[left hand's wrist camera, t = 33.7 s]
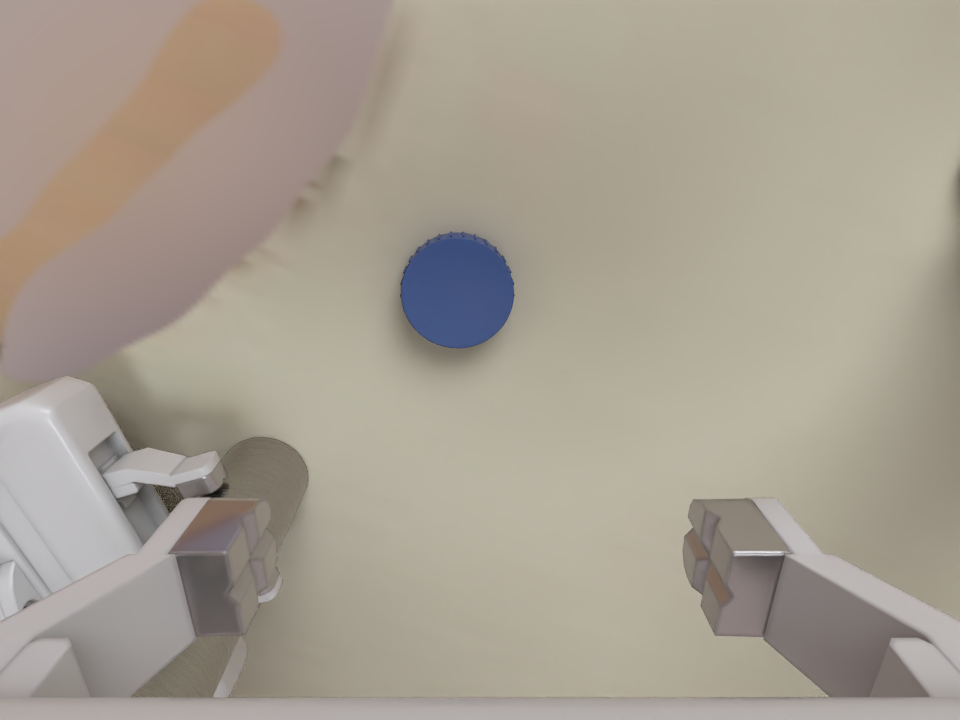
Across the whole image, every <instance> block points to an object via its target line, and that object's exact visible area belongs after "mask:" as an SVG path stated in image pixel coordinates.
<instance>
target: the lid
mask: <svg viewBox="0 0 960 720" xmlns="http://www.w3.org/2000/svg"><path fill="white" fill-rule="evenodd" d="M505 262H506V261H505V259H504V257H503V255H502V256H501V255H500V253H499V252H498V250H497V248H496V247H493V246H492V245H491V244H489V243H488V242H487V240H486V239H485V240H483V239H481V238H479V237H477V236H476V235H475V234H474V235H471V234H466V233H464V232H462V233H452V232H450V233H448V234H444V235H440V234H439V235H438V237H435V238H433V239H431V240H429V239H428V240H427V242H426V243H425V244H424V245H422V246H421V247H418V249H417V251H416V253H415V254H414V255H413V256H411V257H410V259H409V264H408V267H407V266H406V267H405V270H404V272H403V273H404V277H403V279H402V281H401V285H402V286H401V295H400V296H401V299H402V305H403V309H404V312H405V314H406V317H407V318H408V320H409V322H410V323H411V325H412V326H413V327H414V329H415V330H416V331H417V332H418V333H419V334H420V335H422V336H423V337H424V338H426V339H427V340H429V341H431V342H433V343H435V344H437V345H441V346H444V347H449V348H467V347H471V346H475V345H478V344H480V343H482V342H484V341H486V340H488V339H489V338H491V337H492V336H493V335H495V334H496V333H497V332H498V331H499V330H500V329H501V328H502V326H503V325H504V323H505V322H506V320H507V318H508V316H509V314H510V312H511V309H512V305H513V298H514V288H513V285H514V282H513V280H512V278H511V275H510V273H511V271H510V268H509V266H507V265H506V263H505Z"/></svg>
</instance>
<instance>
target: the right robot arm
mask: <svg viewBox="0 0 960 720" xmlns="http://www.w3.org/2000/svg"><path fill="white" fill-rule="evenodd" d="M227 477H228V473H227V471H226V469H225V467H224V465H223V463H222V461H221V459H220V457H219V456H218V454H217V452H216V451H211V452H207V453H204V454H200V455H196V456H193V457H189V458H187V457H186V456H184V455H179V454H175V453H171V452H166V451H162V450H158V449H153V448H149V447H148V448H144V449H141V450H137V451H133V450H132V448H131V446H130V445H129V443H128V441H127V439H126V438H125V436H124V434H123V433H122V431H121V429H120V427H119V426H118V424H117V422H116V421H115V419H114V417H113V416H112V414H111V412H110V410H109V409H108V407H107V405H106V404H105V402H104V400H103V398H102V396H101V395H100V393H99V391H98V390H97V388H96V387H95V386H94V385H93V384H92V383H89V382H87V381H84V380H81V379H77V378H74V377H71V376H63V377H59V378H56V379H53V380H50V381H47V382H44V383H42V384H39V385H37V386H34V387H32V388H29V389H27V390H25V391H23V392H21V393H18V394H16V395H15V396H13V397H11V398H9V399H7V400H5V401H3V402H1V403H0V621H1V620H3V619H5V618H7V617H9V616H11V615H13V614H15V613H16V612H18V611H20V610H22V609H24V608H26V607H28V606H30V605H32V604H34V603H36V602H37V601H39V600H41V599H43V598H45V597H47V596H49V595H51V594H53V593H55V592H56V591H58V590H60V589H62V588H64V587H66V586H68V585H70V584H72V583H74V582H75V581H77V580H79V579H81V578H83V577H85V576H87V575H89V574H91V573H93V572H95V571H96V570H98V569H100V568H102V567H104V566H106V565H108V564H110V563H112V562H114V561H115V560H117V559H119V558H121V557H123V556H125V555H127V554H137V552H138V551H139V550H140V549H141V548H142V546H143V545H144V544H145V543H146V542H147V541H148V539H149V538H150V537H151V536H152V535H153V533H154V532H155V531H156V530H157V529H158V527H159V526H160V525H161V524H162V523H163V521H164V520H165V519H166V518H167V517H168V516H169V514H170V513H169V511H168V510H167V508H166V506H165V505H164V503H163V501H162V499H161V498H160V496H159V494H158V493H157V491H156V489H155V487H154V486H153V485H160V486H167V487H175V488H176V487H177V489H178V490H179V492H180V493H181V495H182V497H183V498H184V499H186V498H195V497H197V496H198V495H199V494H205V495H206V494H209V493H212V492H214V491H216V490H217V489H219V488H220V487H221V486H222V484H223V480H225V479H227ZM282 582H283V578H282V576H281V574H280V572H279V571H278V569H277V567H276V566H275V571H274V575H273V578H272V580H271V582H270V584H269V586H268V588H266V589H265V590H263V591H262V592H261V593H259V595H258V601H259V603H263V602H267V601H270V600H272V599H273V598H274V597H276V596H277V594H278V592H279V590H280V587H281V585H282ZM247 653H248V648H247V645H246V643H245V641H244V639H243V638H242V636H240V638H239V640H238V642H237V644H236V647H235V649H234V651H233V653H232V656H231V658H230V660H229V662H228V664H227V667H226V669H225V671H224V673H223V676H222V678H221V680H220V682H219V685H218V687H217V689H216V691H215V693H214V696H213V697H228V696H229V695H230V693H231V691H232V690H233V688H234V686H235V684H236V681H237V679H238V677H239V675H240V672H241V670H242V667H243V665H244V662H245V660H246V657H247Z"/></svg>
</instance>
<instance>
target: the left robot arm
mask: <svg viewBox="0 0 960 720" xmlns="http://www.w3.org/2000/svg"><path fill="white" fill-rule="evenodd" d="M271 518H272V514H271V509H270V504H269V502H268V501H267V500H266V499H257V498H186V499H183V500H181V501H180V502H179V504H178V505H177V506H176V507H175V508H174V510H173V511H172V512H171V513H170V514H169V516H168V517H167V518H166V519H165V520H164V521H163V523H162V524H161V525H160V526H159V527H158V529H157V530H156V531H155V532H154V533H153V535H152V536H151V537H150V538H149V539H148V541H147V542H146V543H145V544H144V545H143V546H142V548H141V549H140V550H139V551H138V552H137V554H127V555H125V556H123V557H121V558H119V559H117V560H115V561H114V562H112V563H110V564H108V565H106V566H104V567H102V568H100V569H98V570H96V571H95V572H93V573H91V574H89V575H87V576H85V577H83V578H81V579H79V580H77V581H75V582H74V583H72V584H70V585H68V586H66V587H64V588H62V589H60V590H58V591H56V592H55V593H53V594H51V595H49V596H47V597H45V598H43V599H41V600H39V601H37V602H36V603H34V604H32V605H30V606H28V607H26V608H24V609H22V610H20V611H18V612H16V613H15V614H13V615H11V616H9V617H7V618H5V619H3V620H1V621H0V720H960V621H958V620H957V619H955V618H953V617H951V616H949V615H947V614H945V613H943V612H941V611H939V610H938V609H936V608H934V607H932V606H930V605H928V604H926V603H924V602H922V601H920V600H919V599H917V598H915V597H913V596H911V595H909V594H907V593H905V592H903V591H901V590H900V589H898V588H896V587H894V586H892V585H890V584H888V583H886V582H884V581H882V580H881V579H879V578H877V577H875V576H873V575H871V574H869V573H867V572H865V571H863V570H862V569H860V568H858V567H856V566H854V565H852V564H850V563H848V562H846V561H844V560H843V559H841V558H839V557H837V556H835V555H833V554H823V552H822V551H821V550H820V549H819V548H818V546H817V545H816V544H815V543H814V542H813V541H812V539H811V538H810V537H809V536H808V535H807V533H806V532H805V531H804V530H803V529H802V527H801V526H800V525H799V524H798V523H797V522H796V520H795V519H794V518H793V517H792V516H791V514H790V513H789V512H788V511H787V510H786V508H785V507H784V506H783V505H782V504H781V503H780V501H779V500H777V499H775V498H773V497H761V498H746V499H693V501H692V503H691V505H690V508H689V513H688V518H689V520H690V522H691V524H692V526H693V528H692V529H691V530H690V531H689V532H688V533H687V534H686V535H685V537H684V544H683V561H684V568H685V571H686V575H687V578H688V580H689V582H690V584H691V586H692V588H694V589H695V590H697V591H698V592H699V593H701V594H702V595H703V596H702V601H701V608H702V610H703V612H704V614H705V616H706V618H707V620H708V622H709V624H710V626H711V628H712V630H713V632H714V634H715V636H747V637H764V640H765V641H766V642H767V643H768V644H769V645H771V646H772V647H773V648H774V649H775V650H776V651H778V652H779V653H780V654H781V655H782V656H783V657H784V658H786V659H787V660H788V661H789V662H790V663H791V664H793V665H794V666H795V667H796V668H797V669H798V670H800V671H801V672H802V673H803V674H804V675H805V676H806V677H808V678H809V679H810V680H811V681H812V682H813V683H815V684H816V685H817V686H818V687H819V688H820V689H821V690H823V691H824V692H825V693H826V694H827V695H828V696H830V697H131V696H132V695H133V694H134V693H135V692H136V691H138V690H139V689H140V688H141V687H142V686H143V685H144V684H146V683H147V682H148V681H149V680H150V679H151V678H153V677H154V676H155V675H156V674H157V673H158V672H160V671H161V670H162V669H163V668H164V667H165V666H166V665H168V664H169V663H170V662H171V661H172V660H173V659H175V658H176V657H177V656H178V655H179V654H180V653H182V652H183V651H184V650H185V649H186V648H187V647H188V646H190V645H191V644H192V643H193V642H194V641H195V640H196V637H212V636H245V634H246V632H247V630H248V628H249V626H250V624H251V622H252V620H253V618H254V616H255V614H256V612H257V610H258V608H259V601H258V596H257V595H258V594H259V593H261V592H262V591H263V590H265V589H266V588H268V586H269V584H270V582H271V580H272V578H273V575H274V571H275V566H276V562H277V543H276V537H275V535H274V534H273V533H272V532H271V531H270V530H269V529H268V528H267V526H268V524H269V522H270V520H271Z"/></svg>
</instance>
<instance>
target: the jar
mask: <svg viewBox="0 0 960 720" xmlns="http://www.w3.org/2000/svg"><path fill="white" fill-rule="evenodd" d="M221 461H222V463H223V465H224V467H225V469H226V471H227V473H228V477H227V479H225V480H223V484H222V486H221V487H220V488H219V489H217V490H216V491H214V492H212V493H209V494H206V495H205V494H199V495H198V496H197V497H195V498H257V499H266V500H267V501H268V502H269V504H270V509H271V514H272V518H271V520H270V522H269V524H268V526H267V528H268V529H269V530H270V531H271V532H272V533H273V534H274V535H275V537H276V543H277V553H278V551H279V549H280V546H281V544H282V542H283V540H284V538H285V535H286V533H287V531H288V529H289V526H290V524H291V522H292V520H293V518H294V515H295V513H296V511H297V509H298V506H299V504H300V502H301V500H302V497H303V495H304V493H305V491H306V488H307V485H308V471H307V468H306V465H305V463H304V461H303V459H302V458H301V456H300V455H299V454H298V453H297V452H296V451H295V450H294V449H293V448H291V447H290V446H288V445H287V444H285V443H283V442H281V441H278V440H275V439H271V438H263V437H260V438H251V439H247V440H244V441H241V442H239V443H238V444H236V445H235V446H233V447H232V448H231V449H230V450H229V451H228V452H227V454H226V455H225V456H224V458H223V459H222V460H221ZM258 595H259V594H258ZM258 595H257V596H258ZM239 638H240V636H212V637H196V640H195V641H194V642H193V643H192V644H191V645H190V646H188V647H187V648H186V649H185V650H184V651H183V652H182V653H180V654H179V655H178V656H177V657H176V658H175V659H173V660H172V661H171V662H170V663H169V664H168V665H166V666H165V667H164V668H163V669H162V670H161V671H160V672H158V673H157V674H156V675H155V676H154V677H153V678H151V679H150V680H149V681H148V682H147V683H146V684H144V685H143V686H142V687H141V688H140V689H139V690H138V691H136V692H135V693H134V694H133V695H132V696H131V697H213V696H214V693H215V691H216V689H217V687H218V685H219V682H220V680H221V678H222V676H223V673H224V671H225V669H226V667H227V664H228V662H229V660H230V658H231V656H232V653H233V651H234V649H235V647H236V644H237V642H238V640H239Z"/></svg>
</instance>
